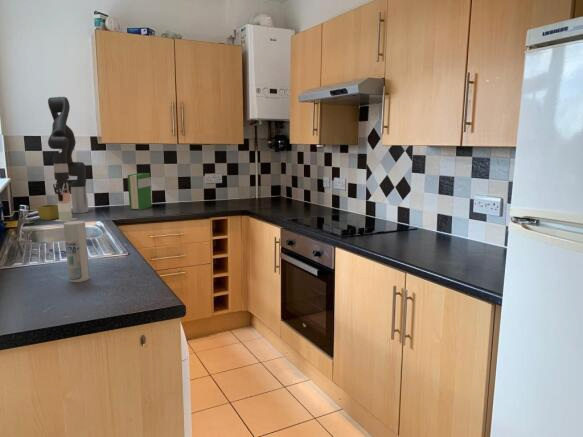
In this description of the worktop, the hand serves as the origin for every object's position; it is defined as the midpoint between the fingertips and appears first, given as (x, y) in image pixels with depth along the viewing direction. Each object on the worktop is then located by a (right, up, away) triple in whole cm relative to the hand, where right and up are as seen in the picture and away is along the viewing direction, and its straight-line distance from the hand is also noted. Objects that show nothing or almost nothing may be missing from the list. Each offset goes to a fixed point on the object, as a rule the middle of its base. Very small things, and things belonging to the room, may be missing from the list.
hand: (63, 200), depth 260 cm
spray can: (+61, -32, -107) cm, 128 cm away
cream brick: (0, -6, +1) cm, 6 cm away
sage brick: (0, -11, +2) cm, 11 cm away
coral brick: (0, -1, 0) cm, 1 cm away
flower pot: (-11, -12, +4) cm, 17 cm away
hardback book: (+28, -4, +52) cm, 59 cm away
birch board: (0, -12, +2) cm, 12 cm away
